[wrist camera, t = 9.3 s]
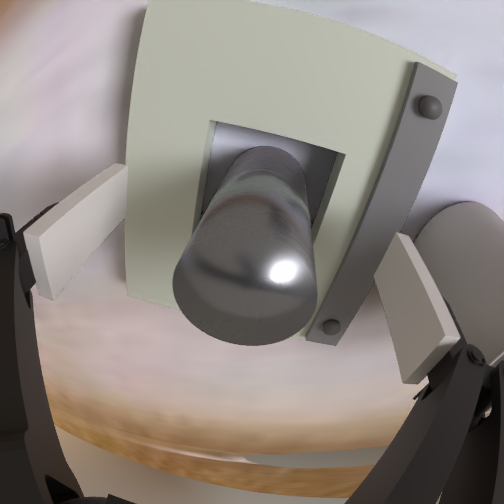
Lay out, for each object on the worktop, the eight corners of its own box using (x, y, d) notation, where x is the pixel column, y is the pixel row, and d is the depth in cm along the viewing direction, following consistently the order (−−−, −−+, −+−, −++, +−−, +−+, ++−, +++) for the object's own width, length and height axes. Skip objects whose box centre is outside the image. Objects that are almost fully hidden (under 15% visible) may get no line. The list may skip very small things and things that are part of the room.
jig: (164, 1, 12) (142, -8, 10) (440, 72, 12) (465, 76, 10) (137, 279, 23) (122, 303, 21) (332, 326, 24) (334, 354, 21)
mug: (394, 227, 18) (458, 365, 9) (495, 183, 15) (597, 281, 6) (422, 335, 24) (452, 445, 14) (500, 300, 20) (548, 396, 11)
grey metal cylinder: (235, 138, 16) (177, 217, 8) (314, 158, 17) (340, 257, 8) (221, 208, 19) (170, 327, 11) (293, 226, 19) (291, 356, 11)
